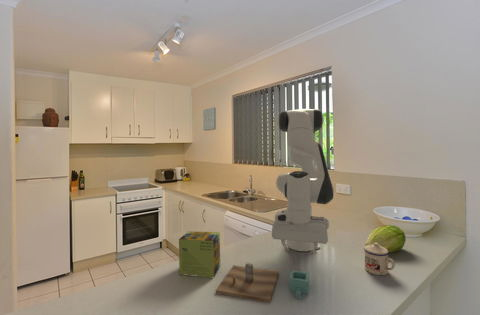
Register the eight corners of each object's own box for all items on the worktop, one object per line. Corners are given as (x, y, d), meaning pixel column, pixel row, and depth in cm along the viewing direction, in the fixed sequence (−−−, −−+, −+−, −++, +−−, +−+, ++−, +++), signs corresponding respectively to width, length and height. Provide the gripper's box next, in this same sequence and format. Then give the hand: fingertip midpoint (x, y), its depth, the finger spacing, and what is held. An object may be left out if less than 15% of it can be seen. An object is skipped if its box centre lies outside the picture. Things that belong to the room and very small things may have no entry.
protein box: (214, 278, 102) (213, 240, 101) (179, 275, 105) (178, 239, 104) (221, 266, 112) (220, 232, 112) (188, 263, 115) (187, 230, 114)
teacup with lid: (359, 268, 107) (359, 242, 107) (372, 263, 112) (372, 237, 112) (388, 281, 97) (388, 251, 97) (400, 275, 102) (400, 246, 101)
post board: (233, 267, 110) (233, 251, 110) (279, 274, 104) (278, 257, 104) (215, 293, 91) (215, 274, 91) (270, 302, 85) (269, 282, 85)
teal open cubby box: (291, 281, 98) (291, 270, 98) (309, 284, 96) (309, 272, 96) (288, 297, 88) (288, 284, 88) (307, 300, 86) (307, 287, 86)
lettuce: (352, 236, 129) (370, 229, 118) (382, 226, 137) (401, 218, 126) (365, 262, 124) (385, 257, 113) (396, 250, 132) (417, 244, 121)
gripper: (328, 215, 93) (328, 252, 93) (273, 211, 99) (273, 246, 99) (329, 219, 87) (329, 259, 87) (270, 215, 93) (271, 252, 93)
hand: (299, 252), depth 93 cm, fingers open, 8 cm apart
